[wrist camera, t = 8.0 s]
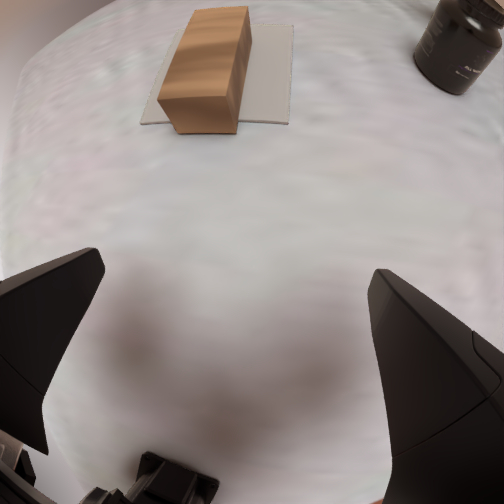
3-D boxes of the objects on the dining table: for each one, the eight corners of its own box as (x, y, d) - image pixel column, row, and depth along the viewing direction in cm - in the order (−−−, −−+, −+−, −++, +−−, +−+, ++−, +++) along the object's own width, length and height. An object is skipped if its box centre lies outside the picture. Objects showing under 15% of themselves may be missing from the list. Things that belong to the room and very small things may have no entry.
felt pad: (288, 124, 19) (288, 122, 19) (141, 124, 20) (139, 123, 20) (293, 27, 20) (293, 25, 20) (178, 31, 22) (177, 29, 21)
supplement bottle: (457, 107, 18) (518, 33, 6) (403, 63, 19) (442, -25, 7) (471, 80, 18) (518, 18, 6) (424, 42, 19) (457, -29, 7)
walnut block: (225, 95, 14) (247, 5, 16) (156, 99, 15) (195, 9, 16) (235, 133, 19) (252, 40, 20) (177, 133, 19) (205, 42, 21)
